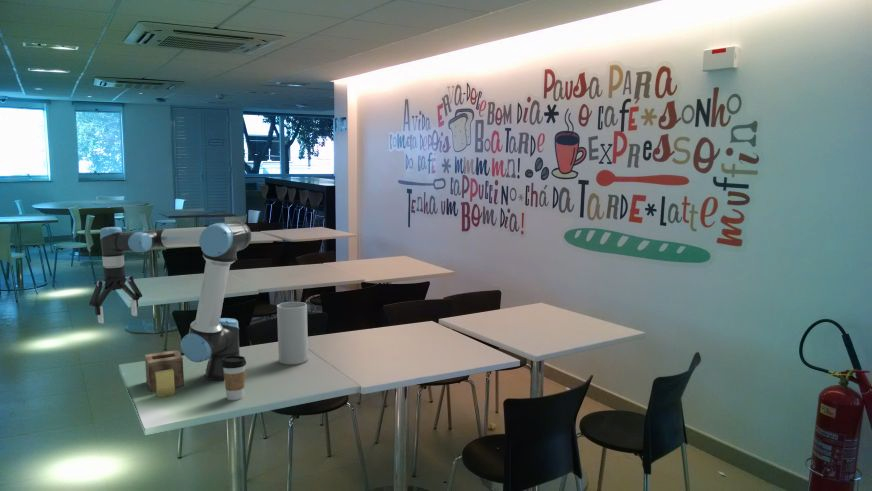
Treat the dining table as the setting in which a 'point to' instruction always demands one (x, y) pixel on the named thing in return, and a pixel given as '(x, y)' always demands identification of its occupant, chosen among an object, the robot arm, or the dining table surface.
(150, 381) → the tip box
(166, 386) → the rectangular block
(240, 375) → the coffee cup
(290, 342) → the cylinder vase
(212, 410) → the dining table surface
